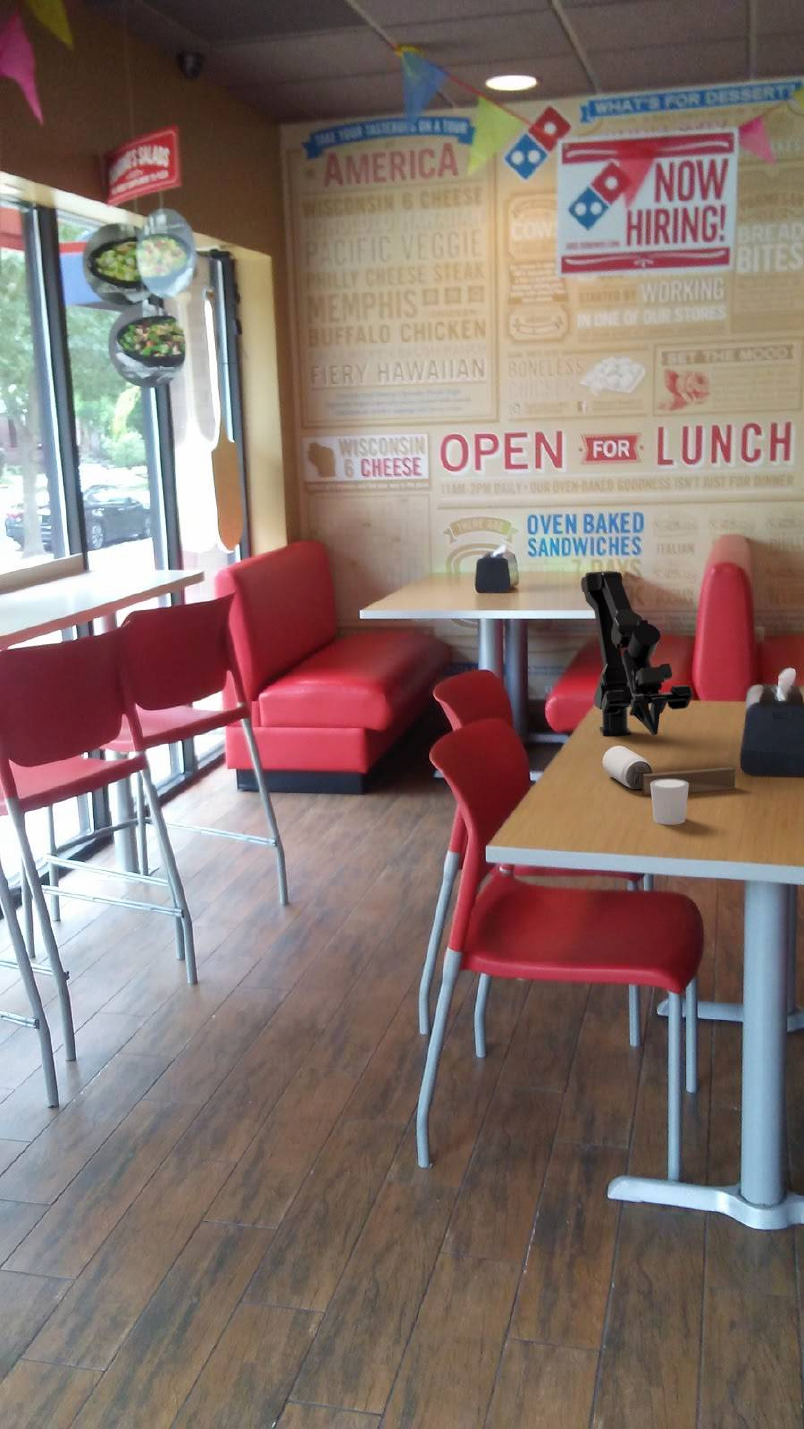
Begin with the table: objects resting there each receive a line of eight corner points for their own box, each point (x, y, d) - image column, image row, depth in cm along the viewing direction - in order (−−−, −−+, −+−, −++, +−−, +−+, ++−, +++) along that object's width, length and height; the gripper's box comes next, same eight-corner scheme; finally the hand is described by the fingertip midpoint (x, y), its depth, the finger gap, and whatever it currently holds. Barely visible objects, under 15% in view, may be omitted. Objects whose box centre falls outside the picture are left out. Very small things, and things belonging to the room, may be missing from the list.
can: (598, 773, 265) (620, 788, 253) (605, 743, 264) (627, 757, 252) (627, 777, 266) (650, 792, 255) (634, 747, 265) (657, 761, 254)
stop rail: (643, 793, 252) (643, 774, 251) (731, 786, 254) (731, 766, 253) (645, 796, 251) (645, 776, 250) (734, 788, 253) (735, 769, 252)
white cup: (651, 825, 233) (651, 788, 231) (649, 814, 239) (649, 778, 238) (690, 825, 232) (690, 788, 230) (687, 814, 238) (687, 777, 237)
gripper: (604, 654, 270) (619, 717, 262) (690, 647, 272) (708, 710, 264) (594, 682, 280) (609, 744, 272) (678, 676, 282) (694, 737, 274)
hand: (655, 734), depth 270 cm, fingers closed
